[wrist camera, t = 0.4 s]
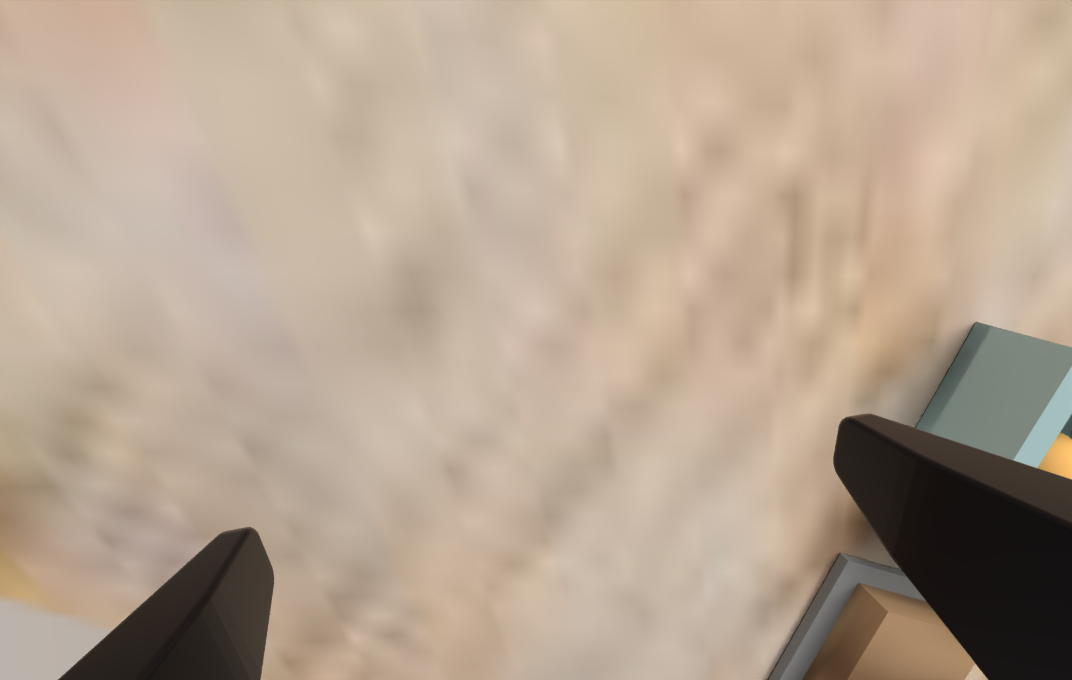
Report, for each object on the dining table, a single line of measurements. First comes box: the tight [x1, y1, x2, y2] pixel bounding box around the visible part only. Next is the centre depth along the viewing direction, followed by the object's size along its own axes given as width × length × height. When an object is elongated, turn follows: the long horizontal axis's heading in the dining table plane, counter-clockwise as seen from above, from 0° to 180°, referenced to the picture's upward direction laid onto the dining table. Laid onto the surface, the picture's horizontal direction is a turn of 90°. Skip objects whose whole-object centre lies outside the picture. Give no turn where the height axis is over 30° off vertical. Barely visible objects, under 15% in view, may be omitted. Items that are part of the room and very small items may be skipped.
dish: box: [916, 322, 1072, 468], centre depth 25 cm, size 10×9×4 cm
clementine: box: [1038, 433, 1072, 479], centre depth 25 cm, size 3×3×3 cm
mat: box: [768, 553, 925, 680], centre depth 30 cm, size 12×9×1 cm
